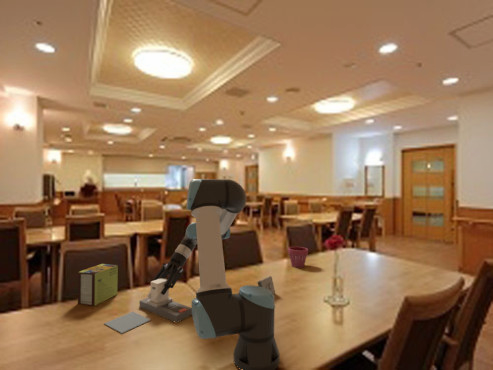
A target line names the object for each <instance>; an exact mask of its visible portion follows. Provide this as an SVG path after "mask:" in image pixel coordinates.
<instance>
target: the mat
mask: <svg viewBox="0 0 493 370" xmlns="http://www.w3.org/2000/svg"><path fill="white" fill-rule="evenodd" d="M150 320H151V319H150V318H148V317H147V316H144V315H141V314H139V313H137V312H136V311H130V312H128V313H126V314H124V315H121V316H118V317H117V318H114V319H112V320H109V321H106V322H104V325H105V326H107V327H108V328H110V329H112V330H114V331H115V332H117V331H118V333H119V332H120V333H119V334H121V335H122V334H125V333H127V332H129V331H131V330H133V328H134V329H136V328H137V326H138V327H140V326H143V325H144V324H147V323H149V322H151V321H150ZM148 321H149V322H148ZM146 322H147V323H146Z"/></svg>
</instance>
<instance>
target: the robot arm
mask: <svg viewBox="0 0 493 370" xmlns="http://www.w3.org/2000/svg"><path fill="white" fill-rule="evenodd" d="M246 204H247V194H246V191H245V189H244V188H243V186H242V185H241V184H240V183H238V182H237V181H235V180H232V179H227V178H224V179H221V178H220V179H218V178H217V179H216V178H215V179H214V178H213V179H212V178H194V179H191V180H190V181H189V184H188V189H187V196H186V210H188V211H190V214H191V216H192V217H193V218H194V219H195V222H191V223H189V225H188V226H187V228H186V229H185V234H184V237H183V238H182V240H181V242H180V243H179V244H178V245H177V247H176V249H175V250H174V252H173V253H172V254H171V256H170V261H169V262H168V263H165V262H164V263H162V265H161V268H160V269H159V271H158V272H157V273H156V274H155V276H154V278H153V280H152V281H154V280H157V279H160V278H164V279H167V281H166V284H164V286H162V288H161V290H160V291H159V293H158V294H157V296H156V297H155V300H157V301H158V302H159V301H160V300H161V298H162V297H163V295H164V294H165V293H166V292H167V290H168V289H173V288H174V287H175V285H176V283H177V282H178V280H179V279H180V277H181V275H182V274H183V273H184V271H185V269H183V266H185V264H186V262H187V260H188V259H189V257H190V256H191V254H192V253H193V250H194V249H195V248H196V245H197V255H198V256H197V257H198V259H197V260H198V271H199V272H198V273H199V288H198V289H197V291H196V292H195V298H193V299H191V308H192V315H191V316H192V320H193V321H192V322H193V325H194V329H195V331H196V335H197V336H198V338H200V339H201V340H207V339H208V340H209V339H216V338H220V337H227V336H231V335H237V334H238V338H237V341H236V344H235V347H234V351H233V363H234V362H235V363H234V365H235V364H236V365H237V366H238V367H239V368H240V369H243V370H277V368H278V367H279V365H280V351H279V347H278V345H277V342H276V338H275V309H276V305H275V304H276V303H275V294H273V293H272V292H271V291H269V290H268V289H266V288H263V287H260V286H258V285H254V284H253V285H251V284H250V285H248V284H247V285H243V286H240V288H239V289H238V293H233V291H232V290H233V289H232V286H230V285H229V284H228V283H227V278H226V276H227V275H226V269H225V259H224V258H225V257H224V249H223V240H226V239H229V238H230V237H231V228H230V227H231V226H232V223H234V220H235V219H236V217H237V215H238V214H240V213H241V212H242V211H243V210H244V208H245V207H246ZM146 296H147V297H146V298H148V297H149V298H150V299H151V289H150V290H149V292H148V293H147V294H146ZM278 364H279V365H278ZM236 365H235V366H236ZM277 366H278V367H277ZM240 369H239V370H240Z"/></svg>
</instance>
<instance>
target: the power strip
mask: <svg viewBox="0 0 493 370" xmlns="http://www.w3.org/2000/svg"><path fill="white" fill-rule="evenodd" d="M139 308H140V309H143V310H145V311H147V310H148V311H147V312H149V313H152V312H153V313H152V314H154V313H155V315H157V316H159V315H160V317H161V316H162V317H161V318H164V317H165V319H166V318H167V320H168V319H169V321H171V320H172V321H171V322H173V321H175V322H177V323H179V322H181V321H183V320H185V319H187V318H189V317H191V316H193V315H192V306H191V307H190V306H189V305H188V306H187V305H185V304H181V303H180V302H177V301H174V300H173V297H170V296H169V299H168V300H165V301H163V302H160V303H158V304H156V303H154V302H151V301H150V298H149V297H146V298H143V299H141V300H139ZM190 315H191V316H190ZM188 316H189V317H188ZM186 317H187V318H186ZM184 318H185V319H184ZM182 319H183V320H182ZM180 320H181V321H180ZM178 321H179V322H178ZM175 322H174V323H175Z"/></svg>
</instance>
